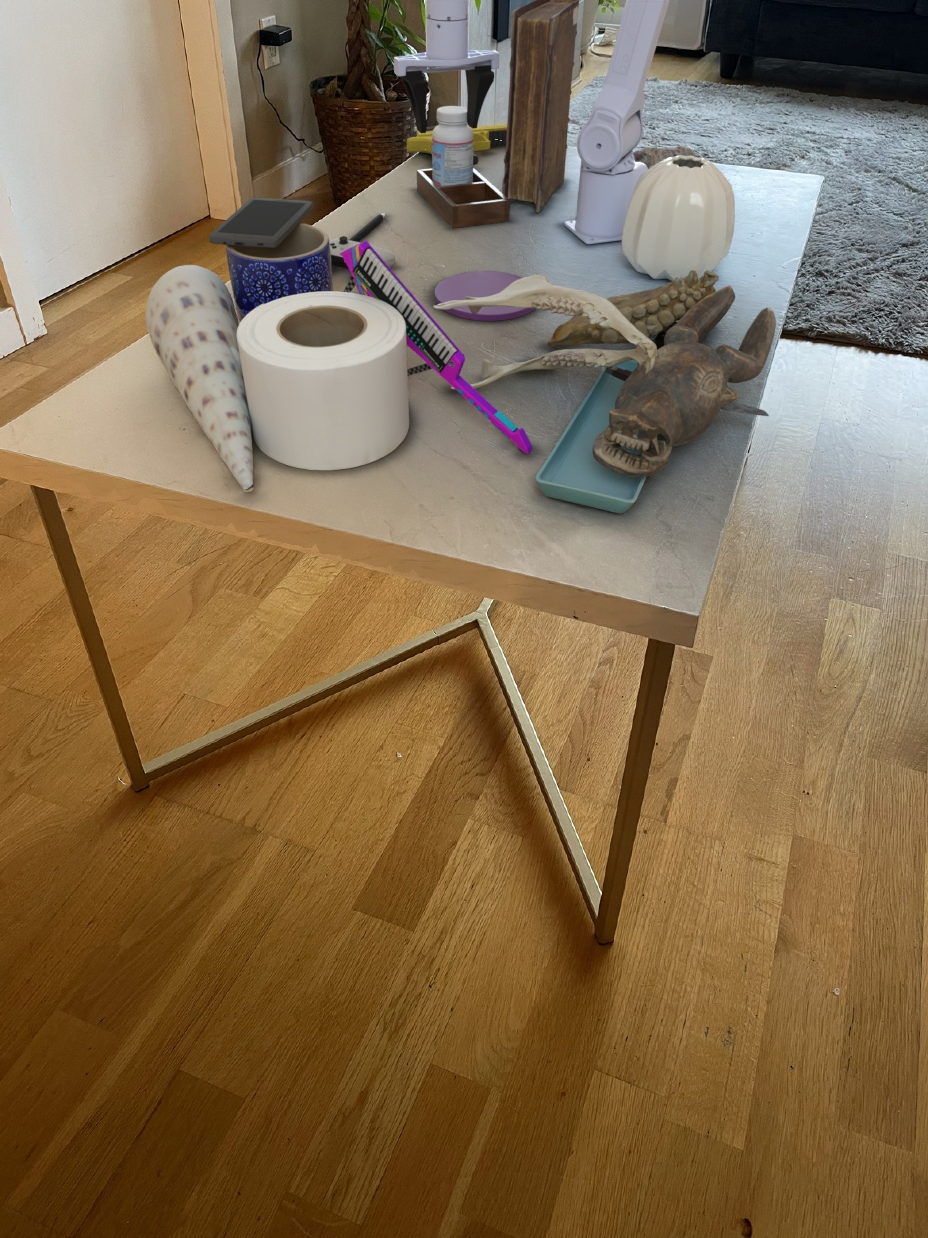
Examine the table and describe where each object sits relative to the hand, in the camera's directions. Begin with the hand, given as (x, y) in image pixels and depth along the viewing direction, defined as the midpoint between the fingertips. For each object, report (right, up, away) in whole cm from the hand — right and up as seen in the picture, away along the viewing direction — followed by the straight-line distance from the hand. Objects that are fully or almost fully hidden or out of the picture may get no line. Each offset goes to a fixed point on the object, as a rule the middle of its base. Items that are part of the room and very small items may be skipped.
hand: (447, 128), depth 135 cm
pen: (-12, -17, -4) cm, 21 cm away
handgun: (+9, +5, +20) cm, 22 cm away
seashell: (-24, -48, -38) cm, 66 cm away
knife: (+25, -46, -39) cm, 65 cm away
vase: (+30, -24, -10) cm, 39 cm away
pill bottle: (+1, -5, +9) cm, 11 cm away
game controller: (-12, -24, -11) cm, 29 cm away
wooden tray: (+2, -8, +7) cm, 11 cm away
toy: (-9, -44, -31) cm, 54 cm away
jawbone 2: (+14, -39, -24) cm, 48 cm away
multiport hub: (+27, -38, -25) cm, 53 cm away
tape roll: (-11, -50, -40) cm, 65 cm away
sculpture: (+22, -48, -40) cm, 66 cm away
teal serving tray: (+17, -52, -42) cm, 69 cm away
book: (+14, -5, +11) cm, 18 cm away
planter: (-17, -38, -26) cm, 49 cm away
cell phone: (-19, -27, -32) cm, 46 cm away
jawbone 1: (+18, -41, -40) cm, 60 cm away
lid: (+5, -30, -17) cm, 35 cm away
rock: (+30, +4, +18) cm, 36 cm away
